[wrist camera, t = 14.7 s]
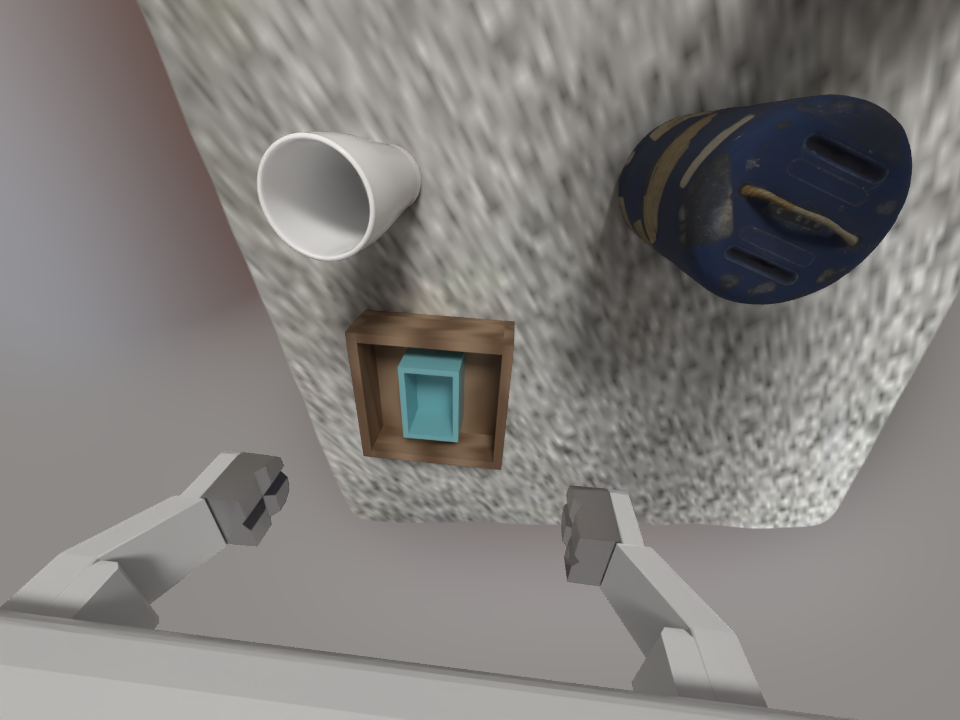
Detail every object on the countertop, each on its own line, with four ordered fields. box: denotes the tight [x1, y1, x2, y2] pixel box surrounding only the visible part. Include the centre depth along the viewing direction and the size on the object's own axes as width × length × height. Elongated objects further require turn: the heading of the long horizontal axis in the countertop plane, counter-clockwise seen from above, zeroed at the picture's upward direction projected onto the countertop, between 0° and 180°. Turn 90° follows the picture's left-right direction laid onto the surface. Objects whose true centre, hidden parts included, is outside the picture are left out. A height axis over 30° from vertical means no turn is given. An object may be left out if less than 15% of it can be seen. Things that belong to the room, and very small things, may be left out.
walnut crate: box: [345, 310, 515, 470], centre depth 42 cm, size 16×16×6 cm
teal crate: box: [398, 347, 465, 442], centre depth 41 cm, size 6×9×5 cm, turn 178°
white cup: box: [257, 131, 421, 261], centre depth 27 cm, size 7×7×15 cm
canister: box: [619, 95, 912, 305], centre depth 24 cm, size 10×10×18 cm
